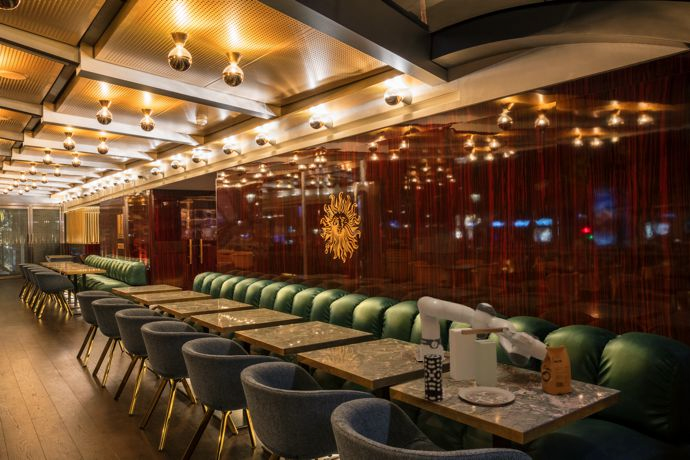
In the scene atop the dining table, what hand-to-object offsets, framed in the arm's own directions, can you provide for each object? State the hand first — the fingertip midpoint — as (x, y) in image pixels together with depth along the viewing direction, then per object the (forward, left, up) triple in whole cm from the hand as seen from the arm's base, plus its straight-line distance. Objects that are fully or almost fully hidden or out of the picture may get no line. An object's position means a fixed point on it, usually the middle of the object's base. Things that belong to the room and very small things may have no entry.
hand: (500, 329), depth 255 cm
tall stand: (-14, -15, -28) cm, 35 cm away
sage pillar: (0, -9, -28) cm, 29 cm away
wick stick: (0, -9, -1) cm, 9 cm away
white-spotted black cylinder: (+15, -43, -28) cm, 53 cm away
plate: (+20, -19, -28) cm, 39 cm away
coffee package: (+19, +18, -28) cm, 38 cm away
